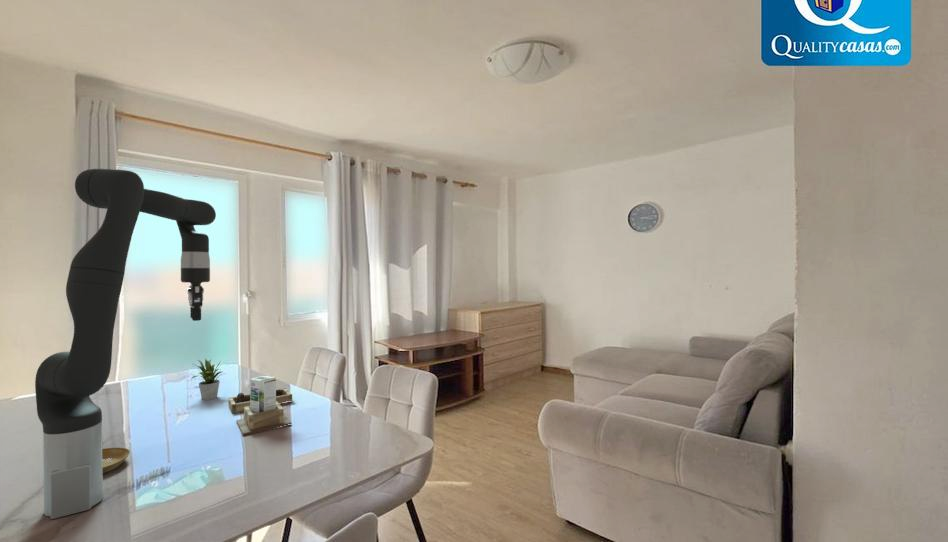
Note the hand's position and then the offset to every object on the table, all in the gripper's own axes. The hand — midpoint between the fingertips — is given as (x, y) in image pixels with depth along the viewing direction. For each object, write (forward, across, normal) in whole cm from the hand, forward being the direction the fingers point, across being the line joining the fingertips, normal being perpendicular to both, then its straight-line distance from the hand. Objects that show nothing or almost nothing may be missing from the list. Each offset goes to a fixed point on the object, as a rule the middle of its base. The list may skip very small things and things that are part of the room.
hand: (195, 319), depth 129 cm
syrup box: (+35, -3, -18) cm, 40 cm away
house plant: (+36, +42, -6) cm, 55 cm away
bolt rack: (+35, +20, -22) cm, 46 cm away
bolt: (+30, +20, -22) cm, 43 cm away
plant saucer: (+36, -10, +23) cm, 44 cm away
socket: (+36, -3, -18) cm, 40 cm away
